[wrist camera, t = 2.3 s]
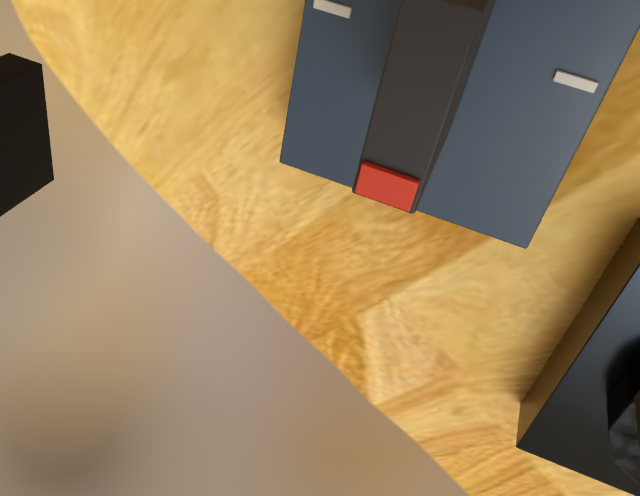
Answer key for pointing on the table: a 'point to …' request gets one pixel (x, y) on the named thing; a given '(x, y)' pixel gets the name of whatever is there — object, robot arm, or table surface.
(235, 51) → the table surface
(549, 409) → the button block
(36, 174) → the robot arm
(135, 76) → the table surface
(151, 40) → the table surface
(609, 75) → the dial panel
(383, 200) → the dark grey slab
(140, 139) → the table surface
